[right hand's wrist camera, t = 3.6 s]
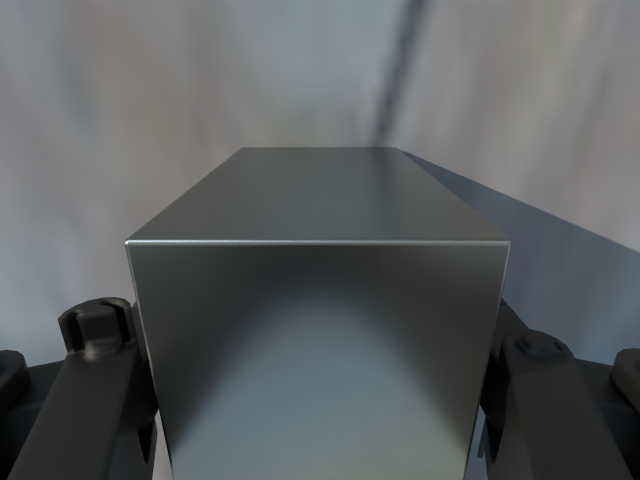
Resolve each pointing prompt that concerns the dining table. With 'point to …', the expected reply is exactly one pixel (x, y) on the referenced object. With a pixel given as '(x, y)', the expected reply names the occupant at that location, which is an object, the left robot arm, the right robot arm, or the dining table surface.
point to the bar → (318, 318)
